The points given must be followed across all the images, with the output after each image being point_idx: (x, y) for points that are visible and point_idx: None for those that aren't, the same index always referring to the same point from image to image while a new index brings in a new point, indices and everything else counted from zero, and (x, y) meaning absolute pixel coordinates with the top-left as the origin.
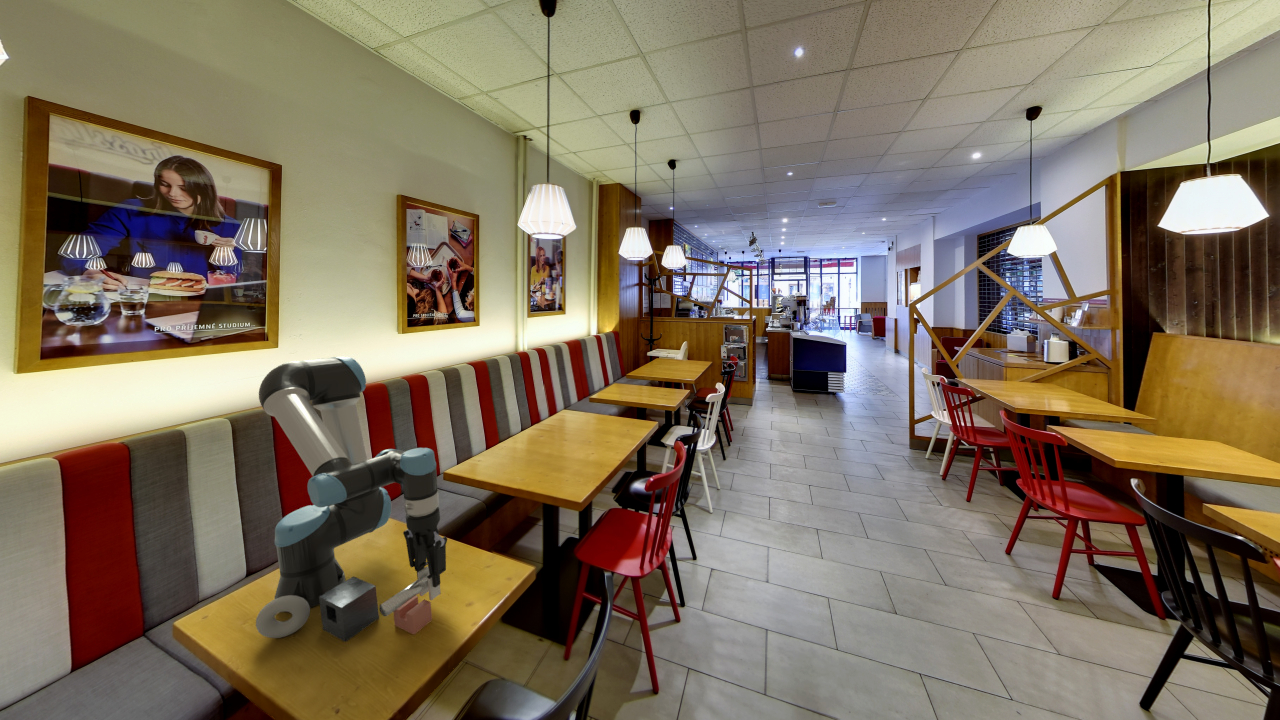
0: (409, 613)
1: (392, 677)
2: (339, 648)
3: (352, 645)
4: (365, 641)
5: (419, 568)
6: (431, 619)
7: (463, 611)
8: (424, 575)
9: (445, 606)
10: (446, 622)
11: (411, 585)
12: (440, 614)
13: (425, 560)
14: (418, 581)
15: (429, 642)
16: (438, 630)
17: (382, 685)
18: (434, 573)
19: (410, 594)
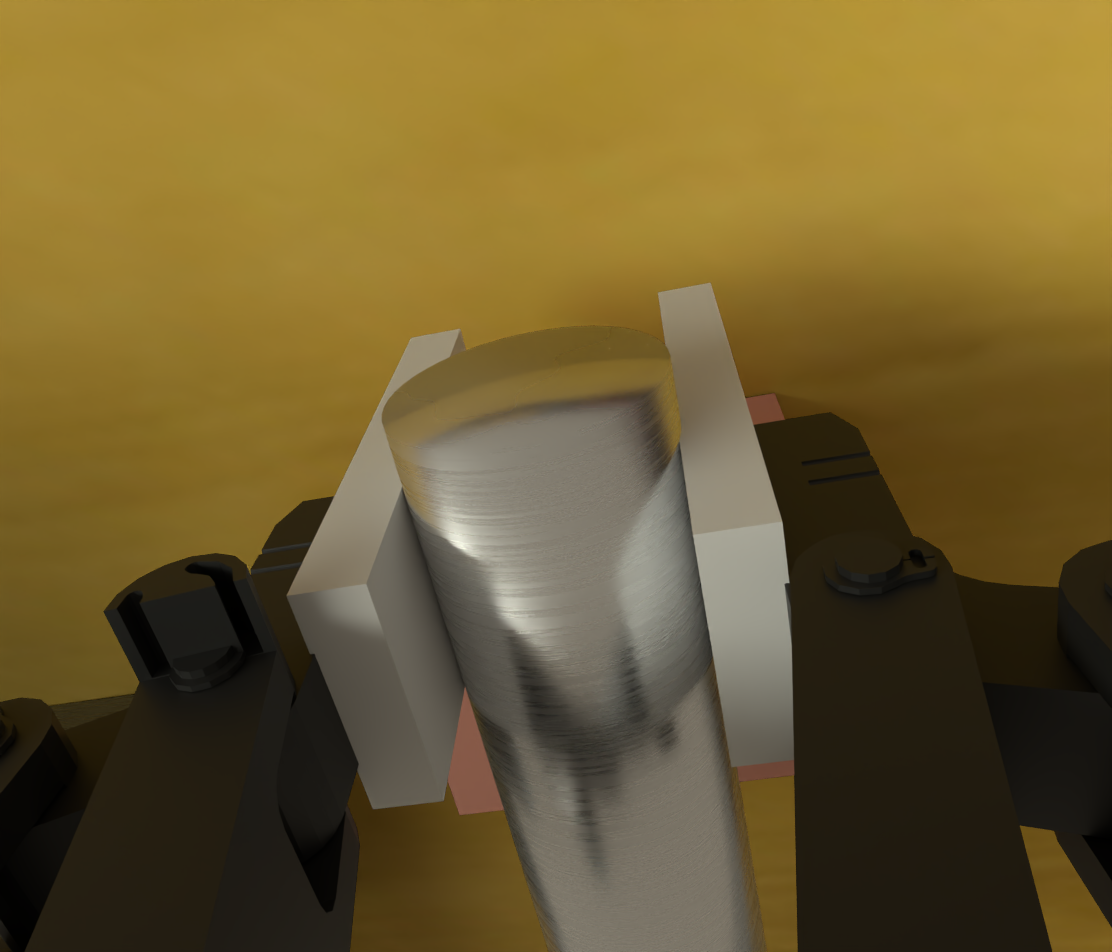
0: (765, 764)
1: (1071, 866)
2: (380, 940)
3: (430, 891)
4: (471, 834)
5: (345, 829)
6: (776, 404)
7: (1049, 48)
8: (535, 698)
9: (701, 157)
10: (987, 311)
11: (643, 949)
12: (782, 282)
13: (262, 796)
14: (637, 844)
15: (1056, 563)
16: (1003, 431)
17: (1061, 919)
18: (1058, 839)
19: (761, 939)
